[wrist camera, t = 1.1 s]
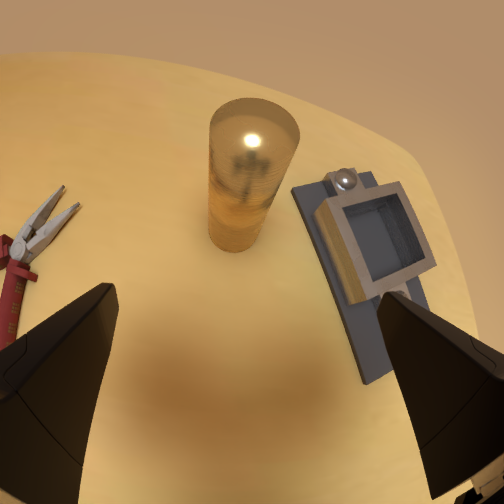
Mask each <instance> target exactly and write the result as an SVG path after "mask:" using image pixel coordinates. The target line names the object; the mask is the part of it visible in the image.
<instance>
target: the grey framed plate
mask: <svg viewBox="0 0 504 504" xmlns="http://www.w3.org/2000/svg"><path fill="white" fill-rule="evenodd" d="M322 183H323V185H324V187H325V189H326V191H327V194H328V196H329V198H326V199H325V200H324V201H323V202H322V204H321V205H320V206H319V207H318V209H317V210H316V211H315V212H314V214H313V215H312V216H311V218H312V221H313V223H314V225H315V228H316V230H317V233H318V235H319V237H320V240H321V242H322V245H323V247H324V250H325V252H326V255H327V257H328V260H329V262H330V265H331V267H332V270H333V272H334V275H335V278H336V280H337V283H338V285H339V288H340V291H341V293H342V296H343V299H344V302H345V304H346V306H348V305H352V304H355V303H359V302H362V301H366V300H368V299H371V300H372V302H373V305H374V308H375V311H376V314H377V309H378V306H379V304H380V301H381V299H382V296H383V294H384V293H385V292H387V291H395V292H397V293H399V294H401V295H403V296H404V297H406V298H408V299H410V300H411V301H412V299H411V297H410V294H409V291H408V288H407V285H406V283H405V282H406V281H408V280H410V279H412V278H414V277H416V276H418V275H420V274H421V273H423V272H425V271H427V270H429V269H431V268H433V267H435V266H437V264H436V262H435V259H434V256H433V254H432V251H431V249H430V246H429V244H428V242H427V239H426V237H425V234H424V232H423V230H422V227H421V225H420V223H419V221H418V218H417V216H416V214H415V212H414V210H413V208H412V206H411V204H410V201H409V199H408V197H407V195H406V193H405V191H404V189H403V187H402V185H401V183H400V182H399V181H398V182H393V183H389V184H385V185H380V186H376V187H372V188H367V189H365V188H364V186H363V184H362V182H361V180H360V178H359V176H358V174H357V172H356V170H355V168H350V169H346V168H342V169H340V170H339V171H334V172H329V173H327V174H326V176H325V177H324V179H323V180H322ZM377 209H378V211H379V213H380V216H381V218H382V220H383V222H384V224H385V227H386V229H387V231H388V234H389V236H390V238H391V241H392V243H393V245H394V248H395V250H396V253H397V255H398V258H399V260H400V263H401V265H402V269H400V270H397V271H395V272H393V273H391V274H389V275H386V276H384V277H382V278H380V279H377V280H375V281H372V279H371V276H370V273H369V271H368V268H367V266H366V263H365V261H364V258H363V256H362V253H361V251H360V248H359V246H358V244H357V241H356V239H355V237H354V234H353V232H352V230H351V227H350V225H349V223H348V220H347V218H350V217H353V216H356V215H360V214H363V213H367V212H370V211H374V210H377Z"/></svg>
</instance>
